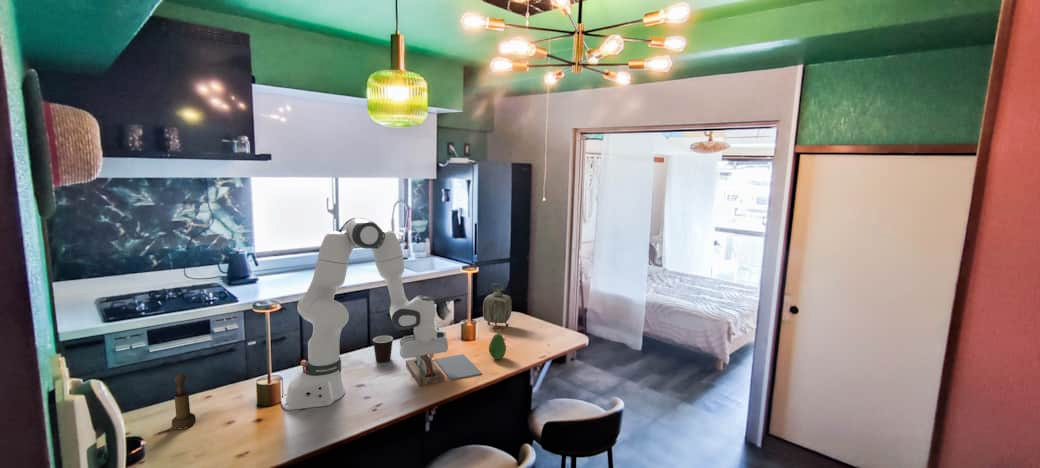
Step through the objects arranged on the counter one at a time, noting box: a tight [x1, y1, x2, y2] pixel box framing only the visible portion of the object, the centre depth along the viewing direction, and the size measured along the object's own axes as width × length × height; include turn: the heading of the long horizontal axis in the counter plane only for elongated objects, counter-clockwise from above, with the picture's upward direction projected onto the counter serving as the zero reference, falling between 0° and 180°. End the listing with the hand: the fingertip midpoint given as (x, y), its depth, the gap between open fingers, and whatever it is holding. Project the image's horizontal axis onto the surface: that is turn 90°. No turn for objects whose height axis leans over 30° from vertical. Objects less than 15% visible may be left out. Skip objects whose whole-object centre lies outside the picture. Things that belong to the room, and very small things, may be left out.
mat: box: [434, 353, 483, 381], centre depth 213 cm, size 14×22×1 cm, turn 28°
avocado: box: [488, 333, 507, 360], centre depth 222 cm, size 8×8×12 cm
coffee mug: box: [372, 335, 394, 364], centre depth 219 cm, size 12×9×10 cm
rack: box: [405, 358, 445, 387], centre depth 206 cm, size 10×21×2 cm, turn 28°
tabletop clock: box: [482, 282, 513, 329], centre depth 262 cm, size 14×9×25 cm, turn 77°
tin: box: [417, 355, 433, 377], centre depth 205 cm, size 15×3×8 cm, turn 29°
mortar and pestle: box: [171, 373, 197, 430], centre depth 161 cm, size 7×6×18 cm
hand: (424, 364), depth 205 cm, fingers closed on tin, 2 cm apart
